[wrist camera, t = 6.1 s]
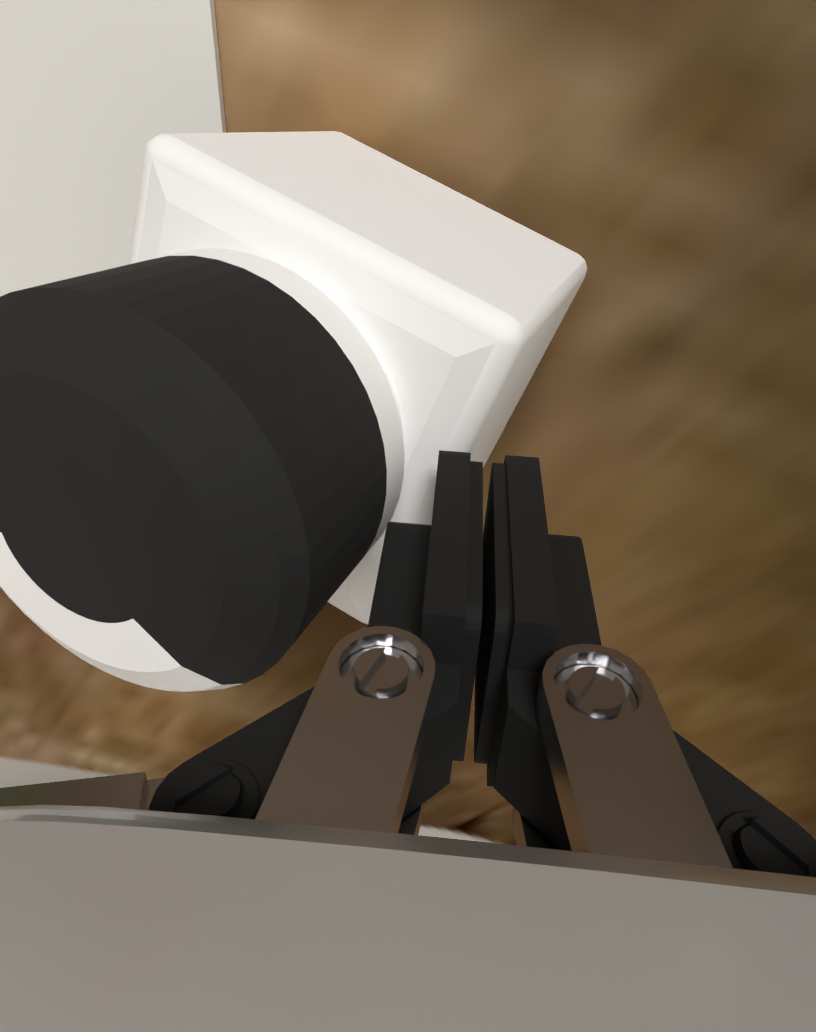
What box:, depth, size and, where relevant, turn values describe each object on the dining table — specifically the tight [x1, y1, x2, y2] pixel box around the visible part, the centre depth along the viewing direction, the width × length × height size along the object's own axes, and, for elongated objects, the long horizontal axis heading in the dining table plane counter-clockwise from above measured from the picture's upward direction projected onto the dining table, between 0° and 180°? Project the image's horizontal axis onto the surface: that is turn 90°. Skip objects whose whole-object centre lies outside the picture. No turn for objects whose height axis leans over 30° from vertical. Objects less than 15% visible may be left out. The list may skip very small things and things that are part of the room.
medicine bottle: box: [0, 131, 587, 692], centre depth 14 cm, size 7×7×12 cm
